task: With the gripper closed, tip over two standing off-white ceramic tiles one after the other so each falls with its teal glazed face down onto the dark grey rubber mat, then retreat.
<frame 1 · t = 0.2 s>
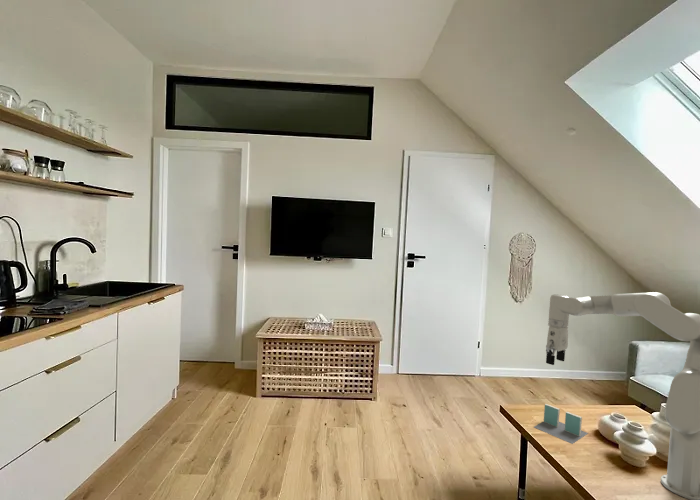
hand: (555, 362, 163), 30 cm above the table, fingers open, 9 cm apart
mat: (560, 431, 163), on the table
tile a: (572, 432, 161), point 1 cm above the table, touching mat
tile b: (550, 424, 169), point 1 cm above the table, touching mat
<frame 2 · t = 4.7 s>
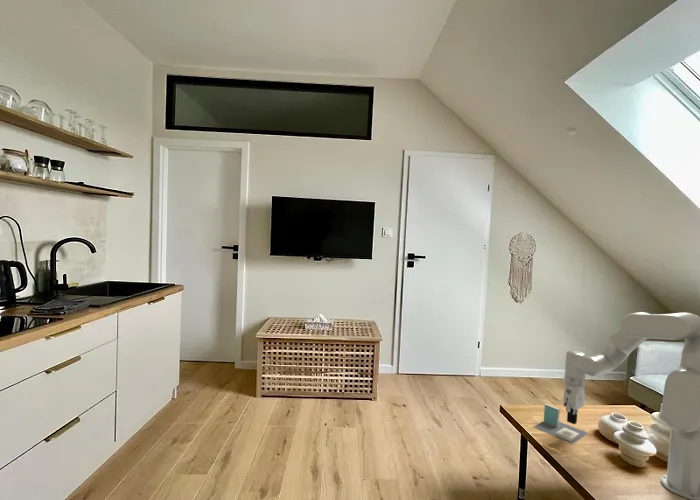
hand: (571, 422, 160), 6 cm above the table, fingers closed
tile a: (571, 431, 161), point 1 cm above the table, tilted 90°, touching mat
everything else where it was.
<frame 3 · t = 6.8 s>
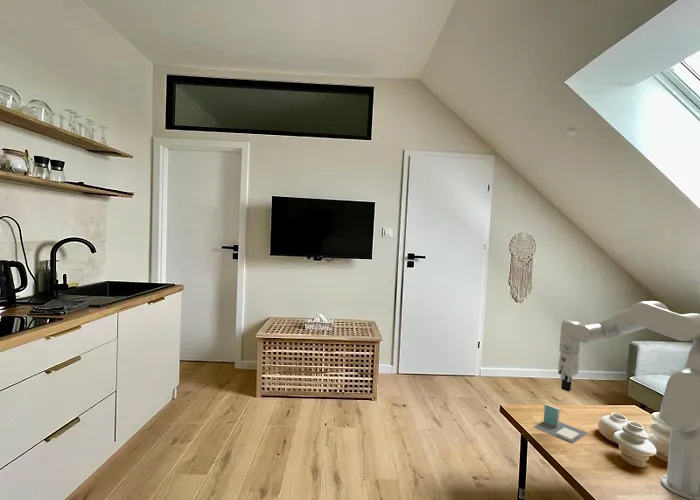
hand: (565, 389, 165), 18 cm above the table, fingers closed
nothing on the table moved.
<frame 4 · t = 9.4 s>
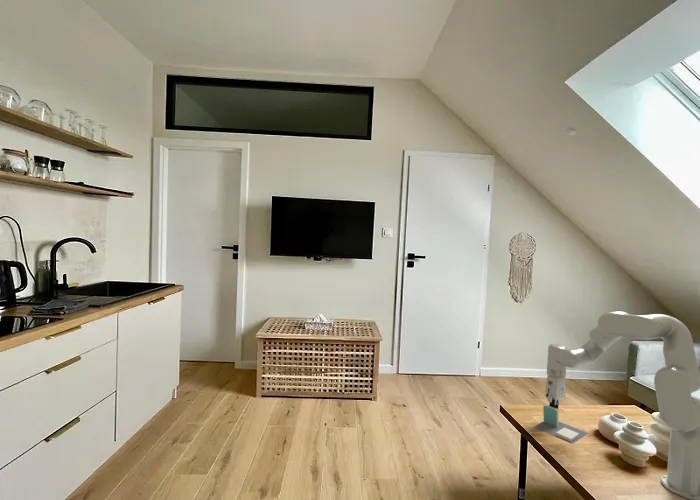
hand: (553, 412, 169), 6 cm above the table, fingers closed
tile b: (550, 423, 169), point 1 cm above the table, tilted 9°, touching mat
everything else where it was.
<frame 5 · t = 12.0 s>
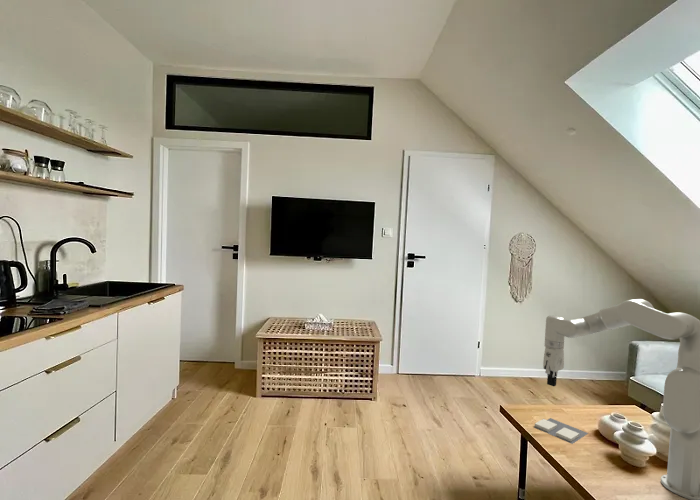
hand: (551, 385, 166), 19 cm above the table, fingers closed
tile b: (550, 422, 168), point 1 cm above the table, tilted 90°, touching mat
everything else where it was.
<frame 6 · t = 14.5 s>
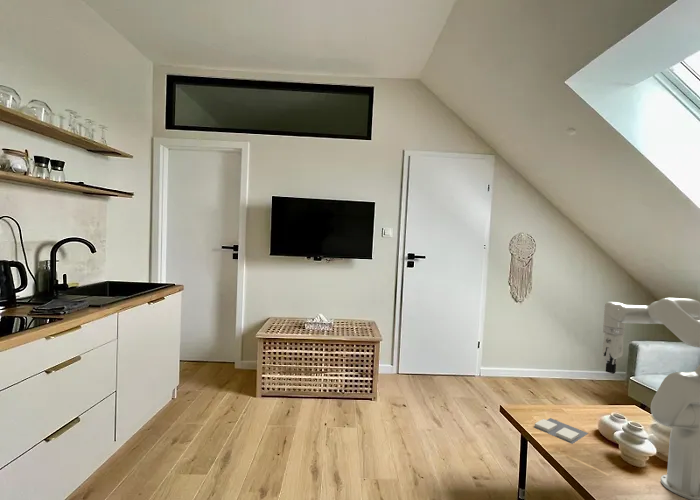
hand: (610, 372, 163), 27 cm above the table, fingers closed
nothing on the table moved.
at the end: tile a tilted 90°; tile b tilted 90°; tile a inside the target area on the mat (4.2 cm from its centre), point 1.3 cm above the mat's base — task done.
